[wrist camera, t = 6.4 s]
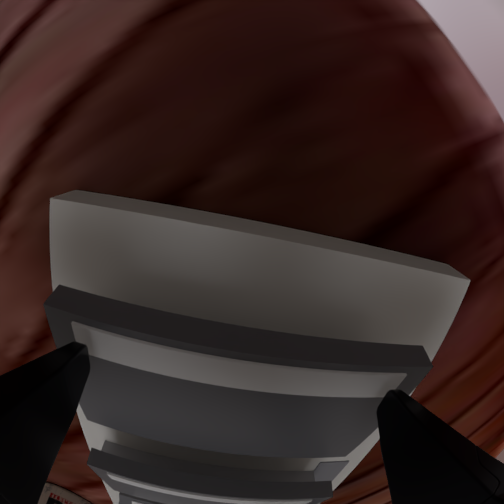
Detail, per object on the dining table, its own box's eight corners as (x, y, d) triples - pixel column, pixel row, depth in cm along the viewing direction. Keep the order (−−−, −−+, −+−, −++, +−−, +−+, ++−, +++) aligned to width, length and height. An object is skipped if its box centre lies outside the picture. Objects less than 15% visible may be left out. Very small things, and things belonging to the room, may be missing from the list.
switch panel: (447, 264, 12) (488, 293, 9) (287, 515, 22) (290, 540, 18) (75, 189, 11) (28, 206, 8) (119, 492, 20) (112, 517, 17)
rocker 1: (422, 345, 9) (434, 368, 8) (342, 439, 12) (345, 458, 11) (59, 284, 8) (41, 306, 7) (93, 403, 11) (86, 421, 10)
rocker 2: (331, 480, 11) (333, 498, 10) (289, 503, 15) (290, 516, 14) (91, 447, 10) (86, 465, 10) (116, 478, 14) (113, 491, 13)
